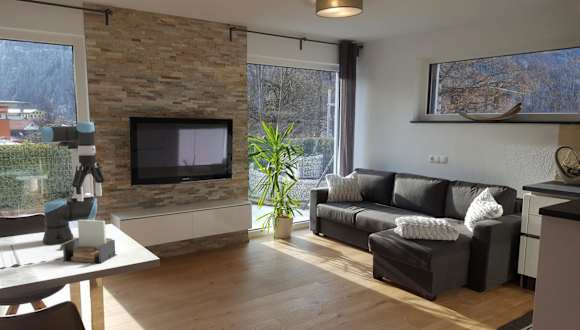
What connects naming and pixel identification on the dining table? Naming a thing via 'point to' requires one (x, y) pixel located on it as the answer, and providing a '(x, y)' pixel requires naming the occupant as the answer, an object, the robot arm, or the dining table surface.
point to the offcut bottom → (84, 259)
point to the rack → (104, 250)
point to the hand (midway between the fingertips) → (90, 198)
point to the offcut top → (84, 249)
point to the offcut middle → (87, 255)
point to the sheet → (91, 233)
